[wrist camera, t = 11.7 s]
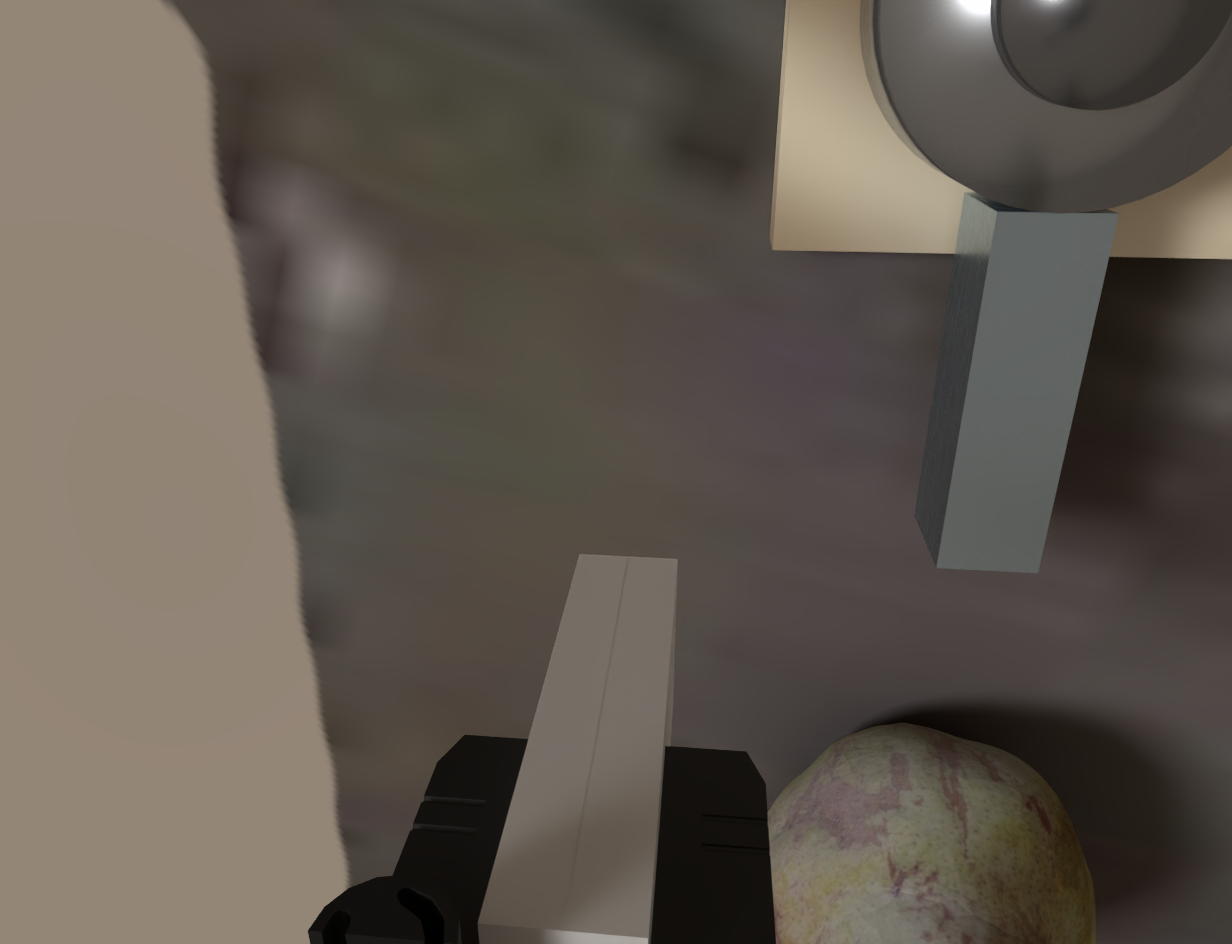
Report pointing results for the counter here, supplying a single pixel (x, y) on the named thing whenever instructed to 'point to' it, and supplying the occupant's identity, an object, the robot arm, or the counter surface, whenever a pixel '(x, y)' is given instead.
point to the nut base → (920, 165)
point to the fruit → (925, 847)
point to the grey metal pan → (1034, 218)
